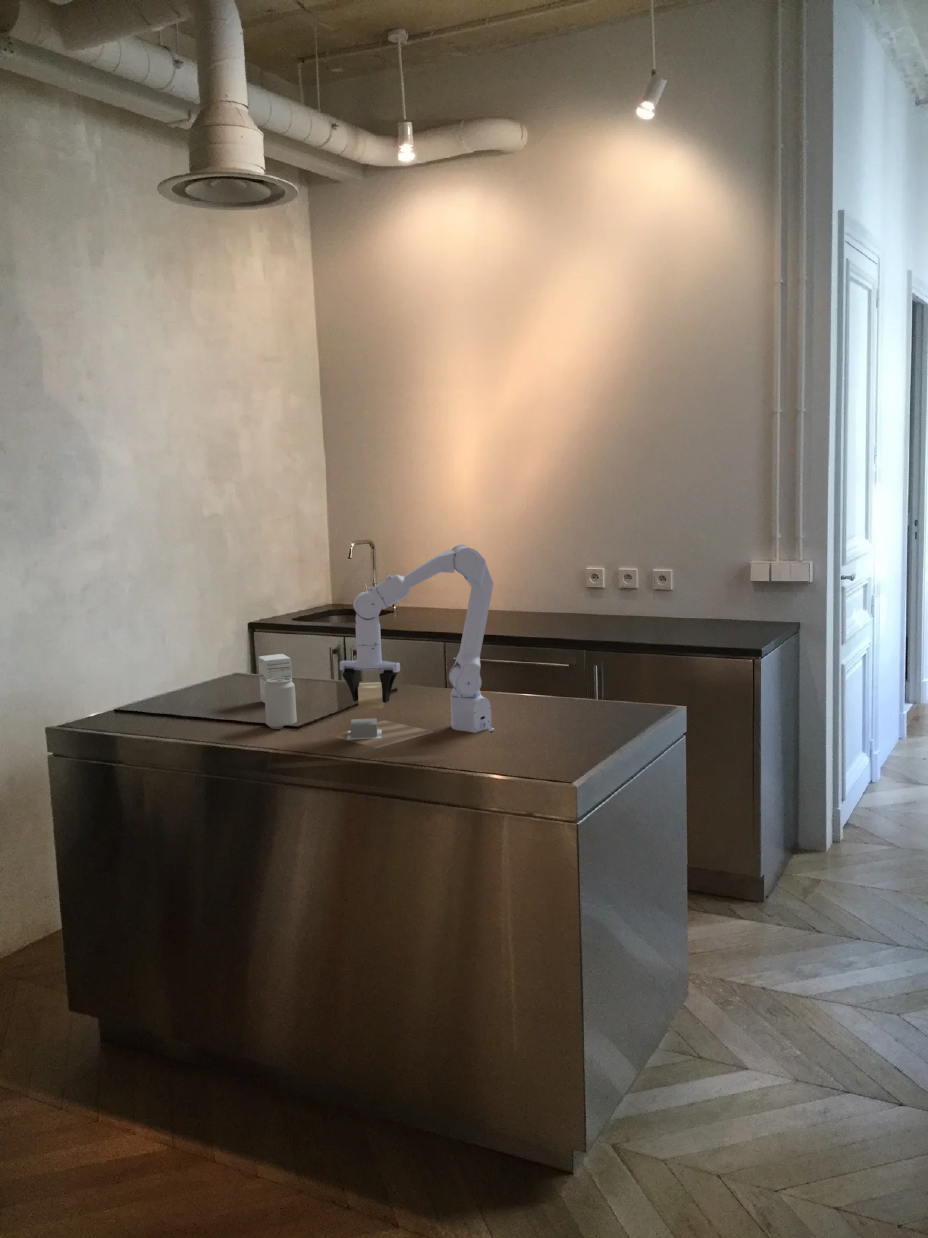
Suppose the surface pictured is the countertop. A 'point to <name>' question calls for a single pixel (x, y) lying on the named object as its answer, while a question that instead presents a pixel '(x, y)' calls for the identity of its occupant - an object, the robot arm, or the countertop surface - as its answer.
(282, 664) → the supplement box
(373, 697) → the maple cube
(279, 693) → the can
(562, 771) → the countertop surface
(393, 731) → the board
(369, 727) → the grey base block
